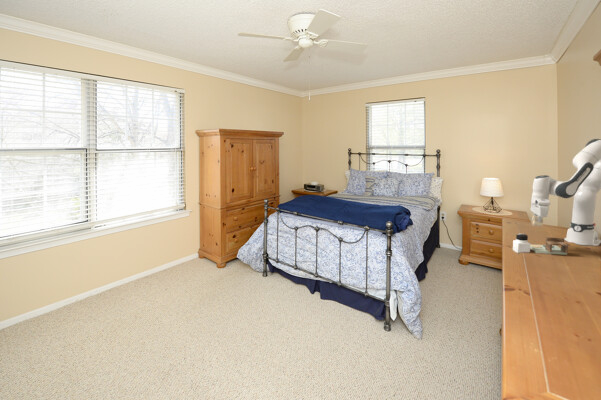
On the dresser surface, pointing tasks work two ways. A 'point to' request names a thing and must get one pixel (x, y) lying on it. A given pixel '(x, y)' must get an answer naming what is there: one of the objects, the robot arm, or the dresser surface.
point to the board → (542, 250)
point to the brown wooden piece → (556, 241)
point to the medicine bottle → (521, 243)
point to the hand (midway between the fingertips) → (537, 220)
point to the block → (534, 221)
